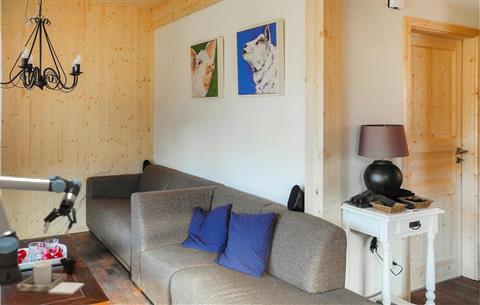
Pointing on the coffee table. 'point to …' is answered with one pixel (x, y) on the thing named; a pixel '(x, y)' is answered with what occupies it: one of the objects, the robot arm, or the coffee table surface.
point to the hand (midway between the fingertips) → (55, 233)
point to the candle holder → (42, 272)
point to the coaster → (66, 288)
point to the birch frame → (43, 288)
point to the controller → (68, 264)
